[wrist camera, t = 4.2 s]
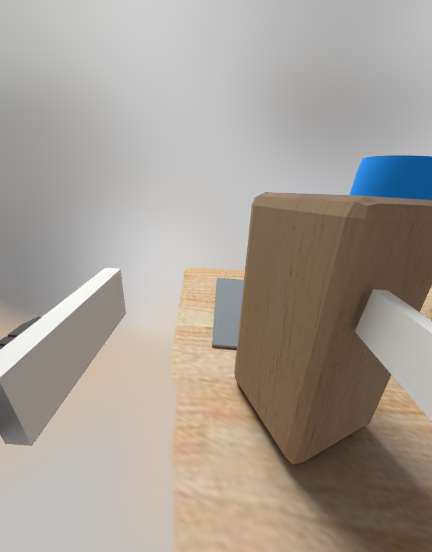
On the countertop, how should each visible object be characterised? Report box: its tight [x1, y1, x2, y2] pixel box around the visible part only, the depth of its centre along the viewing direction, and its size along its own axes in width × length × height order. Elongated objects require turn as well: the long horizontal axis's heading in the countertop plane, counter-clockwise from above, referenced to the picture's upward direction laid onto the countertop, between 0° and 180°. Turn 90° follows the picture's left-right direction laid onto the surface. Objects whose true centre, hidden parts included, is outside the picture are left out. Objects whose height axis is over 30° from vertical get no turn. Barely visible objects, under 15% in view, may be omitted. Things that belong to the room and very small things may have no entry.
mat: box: [212, 278, 244, 349], centre depth 38 cm, size 18×21×1 cm
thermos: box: [350, 156, 432, 200], centre depth 36 cm, size 11×11×25 cm
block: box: [235, 192, 432, 464], centre depth 19 cm, size 10×10×20 cm
